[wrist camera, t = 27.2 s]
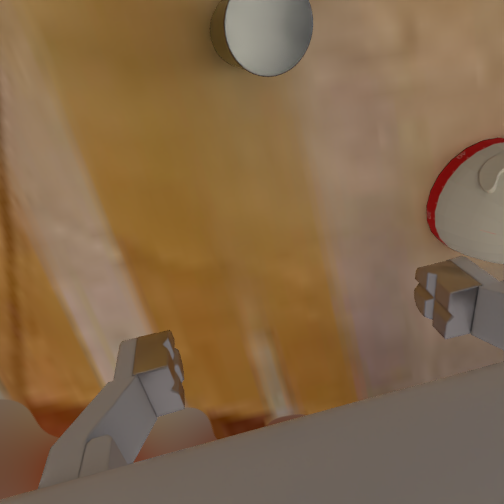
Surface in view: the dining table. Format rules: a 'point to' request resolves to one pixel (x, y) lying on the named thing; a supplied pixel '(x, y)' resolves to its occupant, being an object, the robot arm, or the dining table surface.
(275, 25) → the tin canister
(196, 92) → the dining table surface
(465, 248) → the kitchen timer
